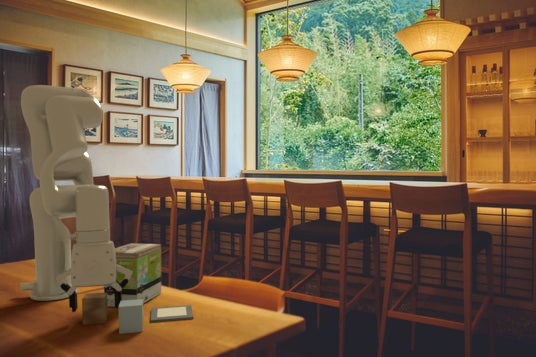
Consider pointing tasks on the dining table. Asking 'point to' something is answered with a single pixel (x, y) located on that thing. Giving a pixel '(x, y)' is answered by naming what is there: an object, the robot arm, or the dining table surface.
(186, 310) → the slate mat
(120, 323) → the blue-grey block
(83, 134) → the robot arm
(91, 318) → the walnut block
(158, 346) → the dining table surface
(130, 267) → the tea box
